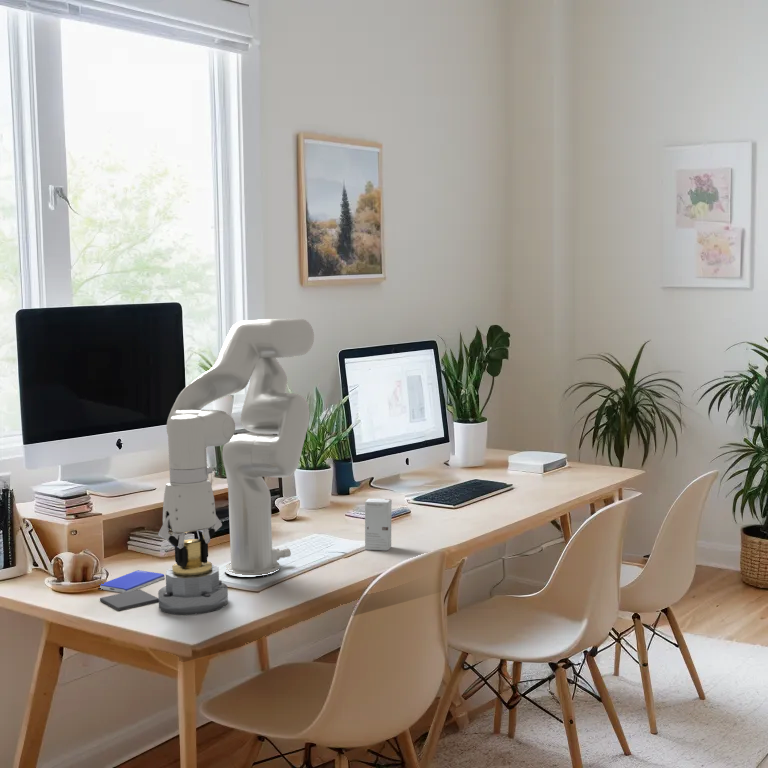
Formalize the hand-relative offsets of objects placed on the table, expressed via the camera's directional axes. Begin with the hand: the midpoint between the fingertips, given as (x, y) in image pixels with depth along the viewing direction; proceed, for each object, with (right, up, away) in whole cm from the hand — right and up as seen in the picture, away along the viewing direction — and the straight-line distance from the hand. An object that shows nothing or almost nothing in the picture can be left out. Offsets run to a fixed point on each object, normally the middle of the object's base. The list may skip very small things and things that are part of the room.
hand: (192, 563), depth 207 cm
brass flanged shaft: (0, -6, +1) cm, 6 cm away
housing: (0, -9, +1) cm, 9 cm away
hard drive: (-17, -8, +17) cm, 25 cm away
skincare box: (+38, -4, +43) cm, 57 cm away
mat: (-14, -9, +4) cm, 17 cm away
